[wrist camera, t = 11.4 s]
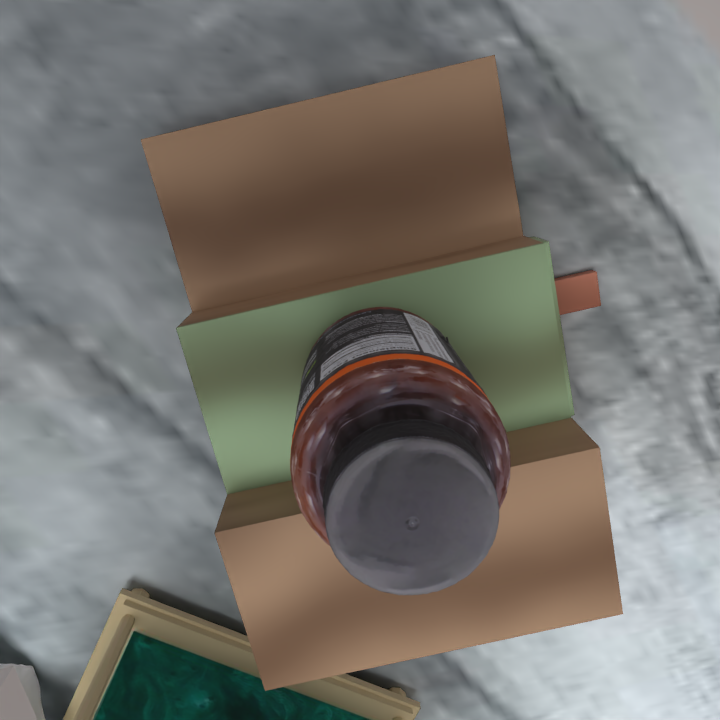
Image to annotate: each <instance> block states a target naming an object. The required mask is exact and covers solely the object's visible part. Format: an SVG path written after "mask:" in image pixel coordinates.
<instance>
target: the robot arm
mask: <svg viewBox="0 0 720 720" xmlns="http://www.w3.org/2000/svg"><path fill="white" fill-rule="evenodd" d="M0 720H37V717H36V715H35V713H34V711H33V708H32V706H31V704H30V702H29V700H28V697H27V695H26V693H25V691H24V688H23V686H22V684H21V682H20V679H19V677H18V675H17V673H16V670H15V668H14V666H11V667H7V668H2V669H0Z"/></svg>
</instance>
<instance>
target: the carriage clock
mask: <svg viewBox="0 0 720 720" xmlns="http://www.w3.org/2000/svg"><path fill="white" fill-rule="evenodd" d="M419 710H420V702H418V701H415V700H413V699H410V698H407V697H406V694H405V692H404V691H403V690H402V689H401V688H397V687H391V688H390V689H389V690H387V689H384V688H381V687H379V686H376V685H374V684H371V683H368V682H366V681H363V680H361V679H358V678H355V677H353V676H350V675H348V674H341V675H336V676H332V677H327V678H322V679H318V680H313V681H308V682H304V683H299V684H295V685H290V686H285V687H281V688H276V689H271V690H267V691H265V689H264V686H263V683H262V680H261V677H260V674H259V671H258V667H257V664H256V661H255V658H254V655H253V652H252V649H251V646H250V642H249V639H248V636H246V635H243V634H241V633H238V632H235V631H233V630H230V629H228V628H225V627H222V626H220V625H217V624H215V623H212V622H209V621H207V620H204V619H202V618H199V617H196V616H194V615H191V614H189V613H186V612H183V611H181V610H178V609H176V608H173V607H170V606H168V605H165V604H162V603H160V602H157V601H155V600H152V599H150V594H149V593H148V592H146V591H145V590H144V589H141V588H134V589H132V590H131V591H129V590H126V589H123V588H122V590H121V592H120V594H119V596H118V598H117V600H116V603H115V605H114V607H113V609H112V612H111V614H110V616H109V618H108V620H107V623H106V625H105V627H104V629H103V632H102V634H101V636H100V638H99V640H98V643H97V645H96V647H95V649H94V651H93V654H92V656H91V658H90V660H89V663H88V665H87V667H86V669H85V671H84V674H83V676H82V678H81V680H80V683H79V685H78V687H77V689H76V691H75V694H74V696H73V698H72V700H71V703H70V705H69V707H68V709H67V711H66V714H65V716H64V718H63V720H414V718H415V717H416V715H417V713H418V712H419Z"/></svg>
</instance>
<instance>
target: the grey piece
mask: <svg viewBox="0 0 720 720" xmlns="http://www.w3.org/2000/svg"><path fill="white" fill-rule="evenodd" d="M11 666H14V668H15V670H16V673H17V675H18V677H19V679H20V682H21V684H22V686H23V688H24V691H25V693H26V695H27V697H28V700H29V702H30V704H31V706H32V708H33V711H34V713H35V715H36V717H37V720H45V716H44V713H43V708H42V703H41V690H40V685H39V682H38V679H37V676H36V674H35V671H34V668H33V666H31V665H29V666H25V665H22V664H19V665H16V664H12V663H9V664H1V663H0V669H2V668H7V667H11Z"/></svg>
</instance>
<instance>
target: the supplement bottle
mask: <svg viewBox="0 0 720 720" xmlns="http://www.w3.org/2000/svg"><path fill="white" fill-rule="evenodd" d="M510 466H511V461H510V449H509V442H508V438H507V434H506V430H505V428H504V426H503V423H502V421H501V419H500V417H499V415H498V413H497V412H496V410H495V408H494V406H493V405H492V404H491V402H490V401H489V399H488V398H487V396H486V394H485V392H484V390H483V389H482V387H480V385H479V384H478V383H477V381H476V380H475V379H474V377H473V376H472V374H471V373H470V371H469V370H468V369H467V368H466V366H465V365H464V363H463V362H462V360H461V359H460V357H459V356H458V355H457V353H456V351H455V350H454V349H453V347H452V346H451V344H450V343H449V340H448V337H446V338H445V337H444V335H443V334H442V333H441V332H440V331H439V330H438V329H437V328H435V327H434V326H433V325H432V324H431V323H429V322H428V321H426V320H425V319H423V318H421V317H420V316H418V315H416V314H414V313H411V312H409V311H405V310H402V309H399V308H393V307H372V308H366V309H362V310H358V311H355V312H352V313H350V314H348V315H346V316H344V317H342V318H341V319H339V320H337V321H336V322H335V323H333V324H332V325H331V326H329V327H328V328H327V329H326V330H325V331H324V332H323V334H322V335H321V336H320V337H319V338H318V340H317V341H316V343H315V344H314V346H313V347H312V349H311V352H310V353H309V356H308V358H307V361H306V364H305V366H304V371H303V375H302V380H301V387H300V393H299V399H298V405H297V411H296V418H295V424H294V431H293V434H292V445H291V454H290V473H291V480H292V485H293V490H294V494H295V497H296V500H297V503H298V506H299V508H300V510H301V512H302V514H303V516H304V517H305V519H306V521H307V522H308V523H309V525H310V526H311V528H312V529H313V530H314V531H315V533H316V534H317V535H318V536H319V537H320V538H321V539H322V540H323V541H324V542H325V543H326V544H328V545H329V546H330V547H331V548H332V550H333V553H334V555H335V556H336V558H337V559H338V560H339V562H340V563H341V564H342V566H343V567H344V568H345V569H346V570H347V571H348V572H349V573H350V574H351V575H352V576H353V577H355V578H356V579H358V580H359V581H360V582H362V583H364V584H366V585H368V586H369V587H371V588H374V589H376V590H379V591H382V592H386V593H390V594H396V595H421V594H428V593H431V592H437V591H440V590H442V589H445V588H447V587H450V586H452V585H454V584H456V583H457V582H458V581H460V580H462V579H464V578H465V577H467V576H468V575H470V574H471V573H472V572H473V571H474V570H475V569H476V568H477V566H478V565H479V564H480V563H481V562H482V560H483V559H484V558H485V557H486V556H487V554H488V552H489V550H490V548H491V546H492V545H493V542H494V540H495V537H496V533H497V529H498V524H499V509H500V508H501V505H502V504H503V501H504V499H505V497H506V494H507V488H508V484H509V480H510Z"/></svg>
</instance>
